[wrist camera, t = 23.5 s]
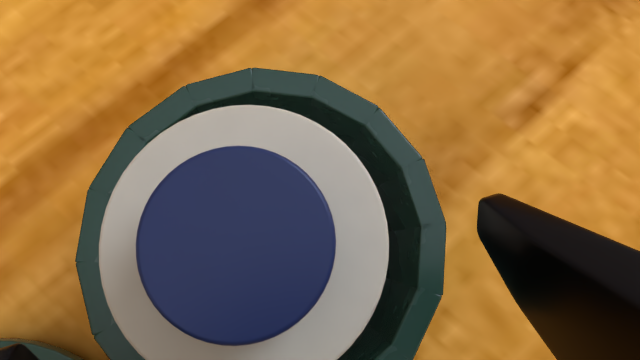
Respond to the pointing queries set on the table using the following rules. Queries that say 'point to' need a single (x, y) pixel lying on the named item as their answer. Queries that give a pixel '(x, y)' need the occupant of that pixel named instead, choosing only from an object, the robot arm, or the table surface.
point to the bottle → (244, 240)
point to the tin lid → (41, 349)
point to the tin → (366, 143)
